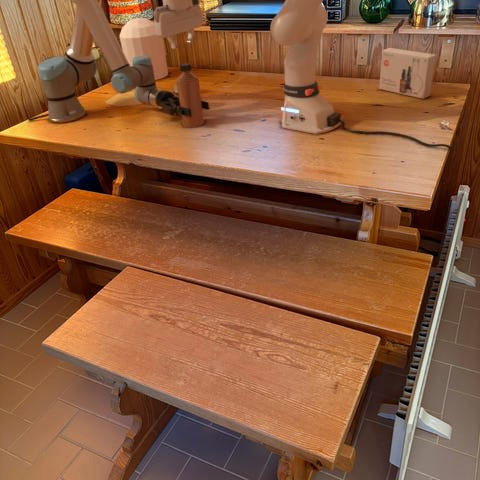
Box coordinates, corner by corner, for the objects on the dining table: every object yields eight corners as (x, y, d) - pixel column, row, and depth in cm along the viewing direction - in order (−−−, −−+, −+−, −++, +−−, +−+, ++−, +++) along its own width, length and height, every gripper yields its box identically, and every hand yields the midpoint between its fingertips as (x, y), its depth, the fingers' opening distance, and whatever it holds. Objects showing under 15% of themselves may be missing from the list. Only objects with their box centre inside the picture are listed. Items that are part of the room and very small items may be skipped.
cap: (184, 68, 171) (183, 62, 170) (193, 69, 169) (192, 63, 168) (178, 71, 168) (177, 65, 167) (187, 72, 167) (186, 66, 165)
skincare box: (377, 89, 194) (381, 50, 185) (385, 86, 197) (389, 47, 188) (423, 99, 180) (429, 56, 171) (430, 95, 183) (437, 53, 174)
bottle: (191, 118, 185) (182, 61, 173) (208, 120, 181) (201, 63, 169) (178, 125, 179) (169, 67, 167) (196, 128, 175) (187, 69, 163)
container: (160, 81, 233) (149, 21, 217) (121, 82, 238) (108, 23, 222) (174, 69, 249) (165, 13, 233) (138, 70, 254) (126, 15, 238)
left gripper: (184, 101, 196) (220, 111, 182) (143, 116, 184) (179, 128, 170) (181, 83, 191) (218, 91, 177) (139, 97, 180) (176, 108, 166)
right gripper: (159, 8, 148) (167, 53, 156) (203, -3, 160) (208, 40, 168) (146, 7, 152) (154, 52, 159) (190, -3, 164) (195, 39, 172)
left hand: (199, 109), depth 174 cm, fingers closed on bottle, 8 cm apart
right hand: (182, 45), depth 164 cm, fingers open, 6 cm apart
